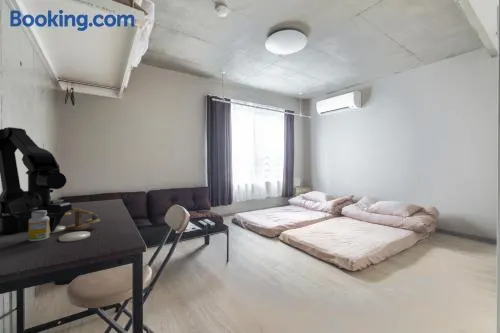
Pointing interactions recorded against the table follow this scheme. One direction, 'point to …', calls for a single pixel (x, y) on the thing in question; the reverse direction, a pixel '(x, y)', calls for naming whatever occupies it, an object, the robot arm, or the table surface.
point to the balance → (78, 219)
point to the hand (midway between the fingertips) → (39, 231)
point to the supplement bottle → (39, 226)
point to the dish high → (58, 229)
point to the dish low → (74, 236)
